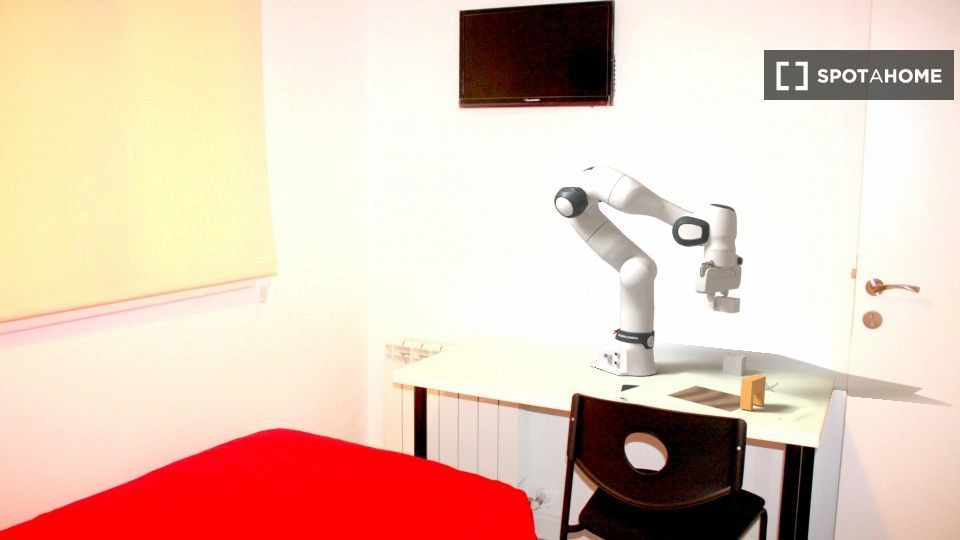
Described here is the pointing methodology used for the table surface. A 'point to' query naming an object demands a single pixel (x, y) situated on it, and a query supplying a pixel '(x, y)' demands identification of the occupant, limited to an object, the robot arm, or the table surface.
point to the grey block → (734, 364)
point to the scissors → (769, 387)
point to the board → (709, 398)
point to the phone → (627, 388)
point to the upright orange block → (752, 391)
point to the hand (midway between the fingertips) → (716, 306)
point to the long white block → (719, 303)
